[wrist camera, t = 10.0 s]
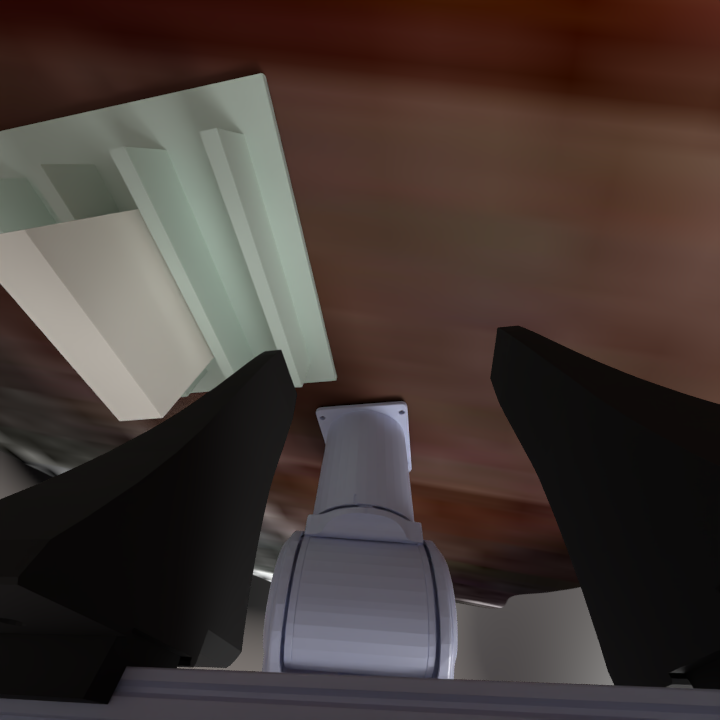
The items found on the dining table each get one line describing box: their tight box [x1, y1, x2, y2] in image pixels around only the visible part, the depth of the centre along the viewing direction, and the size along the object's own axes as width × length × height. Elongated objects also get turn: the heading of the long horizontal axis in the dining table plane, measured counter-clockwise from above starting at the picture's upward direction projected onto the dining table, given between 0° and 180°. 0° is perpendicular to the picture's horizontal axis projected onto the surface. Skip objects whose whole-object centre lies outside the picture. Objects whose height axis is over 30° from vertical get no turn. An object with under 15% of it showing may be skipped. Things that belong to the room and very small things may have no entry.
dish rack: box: [0, 73, 337, 397], centre depth 18 cm, size 18×17×4 cm
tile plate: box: [0, 209, 214, 421], centre depth 16 cm, size 9×2×8 cm, turn 8°
